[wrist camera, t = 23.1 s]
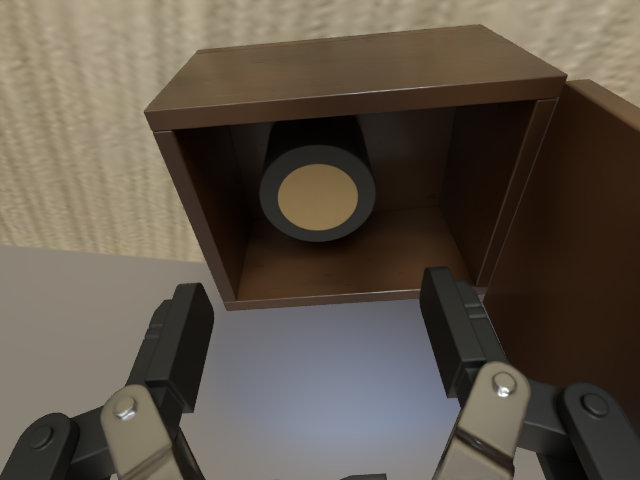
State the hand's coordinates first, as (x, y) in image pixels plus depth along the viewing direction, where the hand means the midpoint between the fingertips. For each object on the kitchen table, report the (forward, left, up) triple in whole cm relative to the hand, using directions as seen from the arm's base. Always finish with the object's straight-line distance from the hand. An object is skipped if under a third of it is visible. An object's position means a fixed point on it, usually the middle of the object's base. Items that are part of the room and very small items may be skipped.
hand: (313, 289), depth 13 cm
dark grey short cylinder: (0, 0, -10) cm, 10 cm away
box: (+2, 0, -11) cm, 11 cm away
